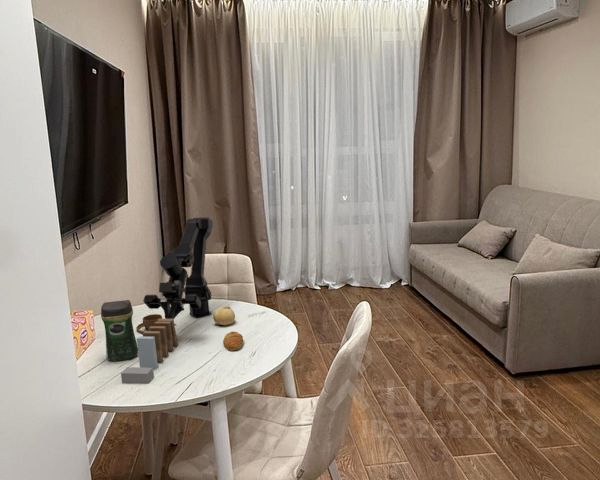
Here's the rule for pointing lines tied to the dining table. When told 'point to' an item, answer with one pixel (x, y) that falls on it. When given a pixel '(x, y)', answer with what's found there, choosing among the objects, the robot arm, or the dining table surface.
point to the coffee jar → (119, 330)
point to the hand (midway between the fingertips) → (167, 324)
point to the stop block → (137, 375)
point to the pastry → (233, 341)
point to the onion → (224, 316)
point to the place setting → (149, 322)
